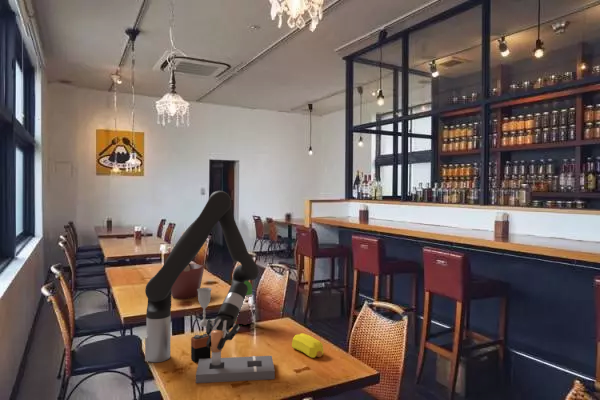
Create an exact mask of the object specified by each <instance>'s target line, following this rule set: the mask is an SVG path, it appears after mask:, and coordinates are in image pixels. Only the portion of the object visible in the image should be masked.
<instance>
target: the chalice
mask: <svg viewBox="0 0 600 400" xmlns="http://www.w3.org/2000/svg"><path fill="white" fill-rule="evenodd" d="M212 290H213V289H212V288H210V287H200V288H199V289H197V291H198V296H197V298H198V299H197V300H198V303H199V305H200V307H201V308H202V310H203V311H202V313H203V314H202V317H203V318H202V319H201V320H200V322H199V324H198V326H199V327H204V328H205V327H207V321H208V319H206V316H207V315H206V312H207V311H206V308H208V307H209V304H210V301H211V296H212V295H211V293H212Z"/></svg>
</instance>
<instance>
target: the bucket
mask: <svg viewBox="0 0 600 400" xmlns="http://www.w3.org/2000/svg"><path fill="white" fill-rule="evenodd" d="M204 271H205V265H203V264H198V263H189V265H188V266H187V267H186V268H185V269H184V270H183V271H182V272H181V274H180V275H179V276H178V278H177V279H176V281H175V283H174V284H173V286H172V292H171V298H173V299H175V298H178V299H177V300H187V299H188V298H189V299H195V298H194V297H196V298H198V291H197V289H199V288H201V286H202V281H203V276H204V275H203V274H204Z"/></svg>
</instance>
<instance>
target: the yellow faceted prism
mask: <svg viewBox="0 0 600 400" xmlns="http://www.w3.org/2000/svg"><path fill="white" fill-rule="evenodd" d="M291 347H292V348H293V349H294V350H296V351H298V352H301V353H302V354H303V353H304V354H305V355H306V356H307V357H308V358H309V357H310V358H311V359H313V358H321V357H322V356H324V345H323V343H322V342H321V341H320V340H318V339H316V338H315V337H313V336H312V335H309V334H306V333H303V332H301V333H299V334H295V335H294V337H293V338H292V343H291Z"/></svg>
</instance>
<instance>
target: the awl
mask: <svg viewBox="0 0 600 400" xmlns="http://www.w3.org/2000/svg"><path fill="white" fill-rule="evenodd" d="M222 334H223V332H222V331H221V330H217V329H216V330H213V331H211V358H212V362H211V364H212V365H220V364H221V358H222V350H223V348H222V349H221V350H218V348H217V346H218V344H219V341H220V339H221V338H222Z"/></svg>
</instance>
